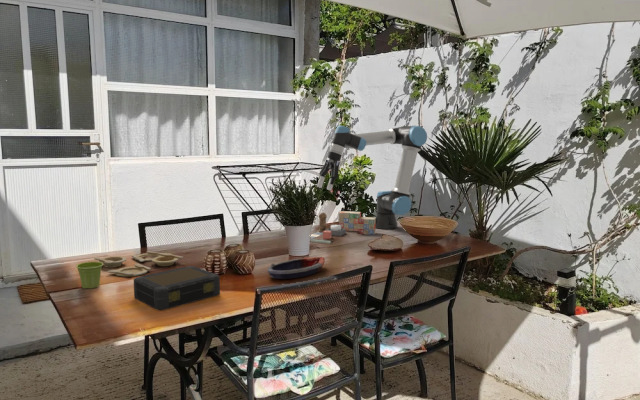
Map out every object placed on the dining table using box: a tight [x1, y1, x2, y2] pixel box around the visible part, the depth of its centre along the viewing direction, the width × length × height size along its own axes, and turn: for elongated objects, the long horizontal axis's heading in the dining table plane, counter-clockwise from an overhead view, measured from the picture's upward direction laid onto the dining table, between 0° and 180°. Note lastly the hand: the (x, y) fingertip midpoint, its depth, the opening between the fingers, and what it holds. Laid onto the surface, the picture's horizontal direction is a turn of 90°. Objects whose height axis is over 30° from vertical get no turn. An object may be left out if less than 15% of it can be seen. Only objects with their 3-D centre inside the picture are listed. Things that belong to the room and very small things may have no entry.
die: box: [322, 231, 332, 240], centre depth 274 cm, size 4×4×4 cm
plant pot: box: [75, 261, 104, 289], centre depth 191 cm, size 9×9×9 cm
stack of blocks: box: [338, 210, 377, 236], centre depth 296 cm, size 21×6×12 cm, turn 73°
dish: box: [267, 256, 326, 280], centre depth 212 cm, size 16×31×5 cm, turn 132°
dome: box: [330, 224, 341, 231], centre depth 285 cm, size 6×6×4 cm
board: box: [310, 227, 347, 245], centre depth 281 cm, size 17×24×4 cm
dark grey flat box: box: [133, 265, 221, 311], centre depth 182 cm, size 25×20×8 cm
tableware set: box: [93, 250, 184, 278], centre depth 223 cm, size 35×29×4 cm
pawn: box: [317, 212, 328, 233], centre depth 291 cm, size 5×5×11 cm
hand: (323, 188), depth 280 cm, fingers open, 13 cm apart
